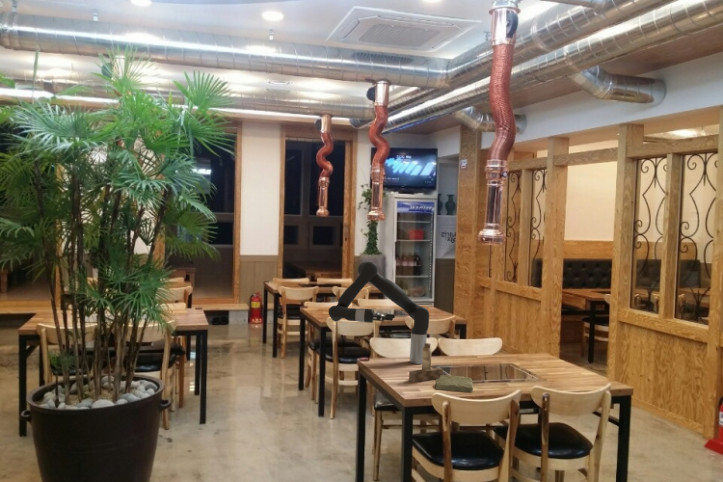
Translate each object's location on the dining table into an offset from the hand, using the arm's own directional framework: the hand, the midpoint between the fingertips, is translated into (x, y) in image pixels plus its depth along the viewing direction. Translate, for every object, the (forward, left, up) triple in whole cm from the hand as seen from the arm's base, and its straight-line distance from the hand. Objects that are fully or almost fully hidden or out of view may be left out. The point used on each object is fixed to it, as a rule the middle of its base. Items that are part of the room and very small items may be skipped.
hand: (393, 317), depth 347 cm
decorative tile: (-12, +38, -31) cm, 50 cm away
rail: (-7, +22, -30) cm, 38 cm away
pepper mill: (-7, +22, -25) cm, 34 cm away
